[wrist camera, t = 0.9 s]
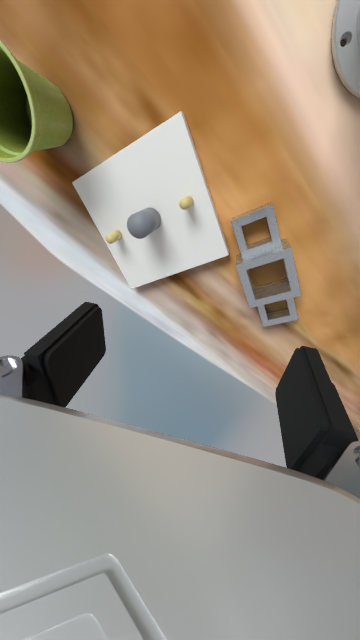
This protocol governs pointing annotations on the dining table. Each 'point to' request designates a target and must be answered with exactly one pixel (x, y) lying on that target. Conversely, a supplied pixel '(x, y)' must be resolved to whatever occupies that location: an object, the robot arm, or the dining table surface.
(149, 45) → the dining table surface
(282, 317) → the bracket
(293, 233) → the dining table surface
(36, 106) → the plant pot
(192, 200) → the post block
